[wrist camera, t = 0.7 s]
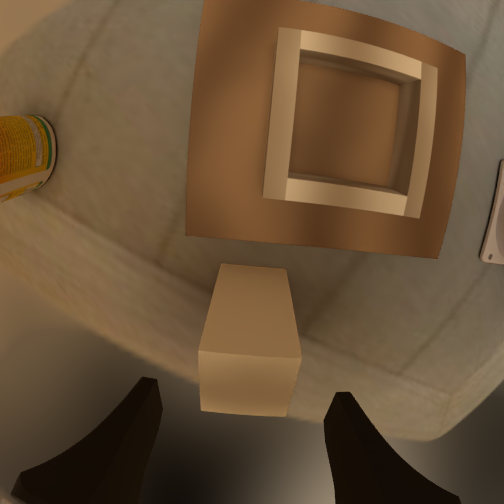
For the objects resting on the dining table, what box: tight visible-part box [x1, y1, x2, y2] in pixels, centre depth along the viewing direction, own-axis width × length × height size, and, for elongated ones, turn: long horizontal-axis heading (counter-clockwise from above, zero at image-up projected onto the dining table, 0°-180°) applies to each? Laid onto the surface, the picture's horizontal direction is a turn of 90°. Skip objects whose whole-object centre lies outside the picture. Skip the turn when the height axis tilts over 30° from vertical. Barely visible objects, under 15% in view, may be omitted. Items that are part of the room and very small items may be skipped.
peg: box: [198, 263, 302, 417], centre depth 15 cm, size 4×4×8 cm
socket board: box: [185, 0, 466, 259], centre depth 13 cm, size 16×14×4 cm
